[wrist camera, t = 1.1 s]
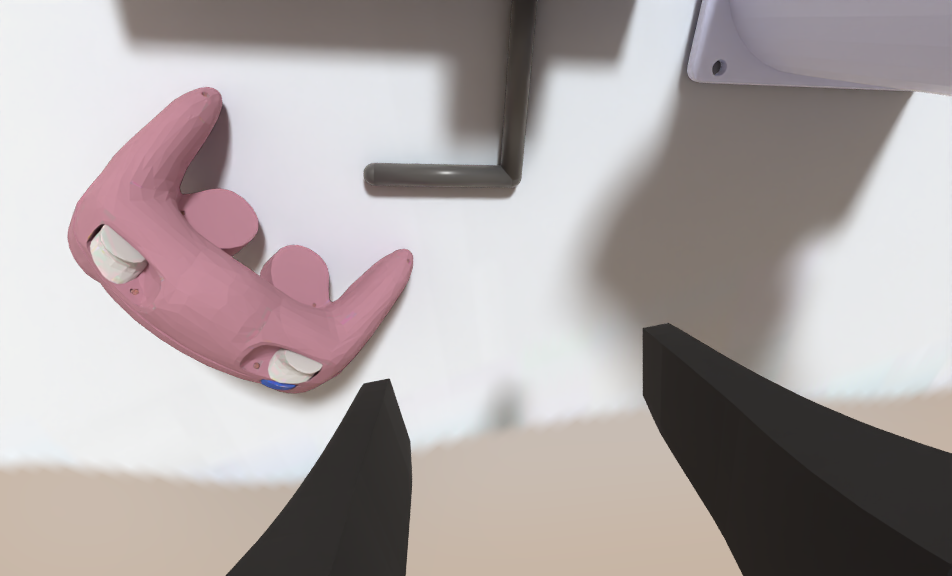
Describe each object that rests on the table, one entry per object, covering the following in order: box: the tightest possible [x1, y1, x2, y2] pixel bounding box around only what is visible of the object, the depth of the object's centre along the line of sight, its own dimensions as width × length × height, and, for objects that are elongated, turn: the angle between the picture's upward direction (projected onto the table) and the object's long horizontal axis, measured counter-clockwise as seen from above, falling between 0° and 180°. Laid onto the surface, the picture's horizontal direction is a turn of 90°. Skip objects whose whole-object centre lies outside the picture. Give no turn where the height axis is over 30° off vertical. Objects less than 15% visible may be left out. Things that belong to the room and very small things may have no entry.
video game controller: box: [68, 87, 413, 393], centre depth 17 cm, size 10×5×7 cm, turn 44°
